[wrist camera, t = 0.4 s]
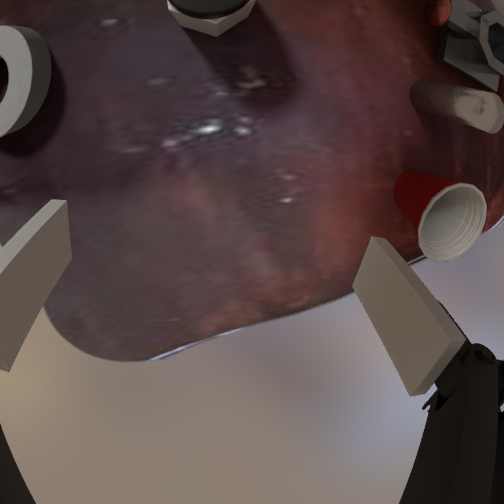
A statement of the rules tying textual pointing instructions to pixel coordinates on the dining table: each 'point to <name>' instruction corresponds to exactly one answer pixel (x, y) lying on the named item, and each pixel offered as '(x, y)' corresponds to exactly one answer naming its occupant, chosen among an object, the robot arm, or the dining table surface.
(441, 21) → the valve body
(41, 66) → the tape roll
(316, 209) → the dining table surface
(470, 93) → the pipe stub
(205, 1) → the jar
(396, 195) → the plastic cup
